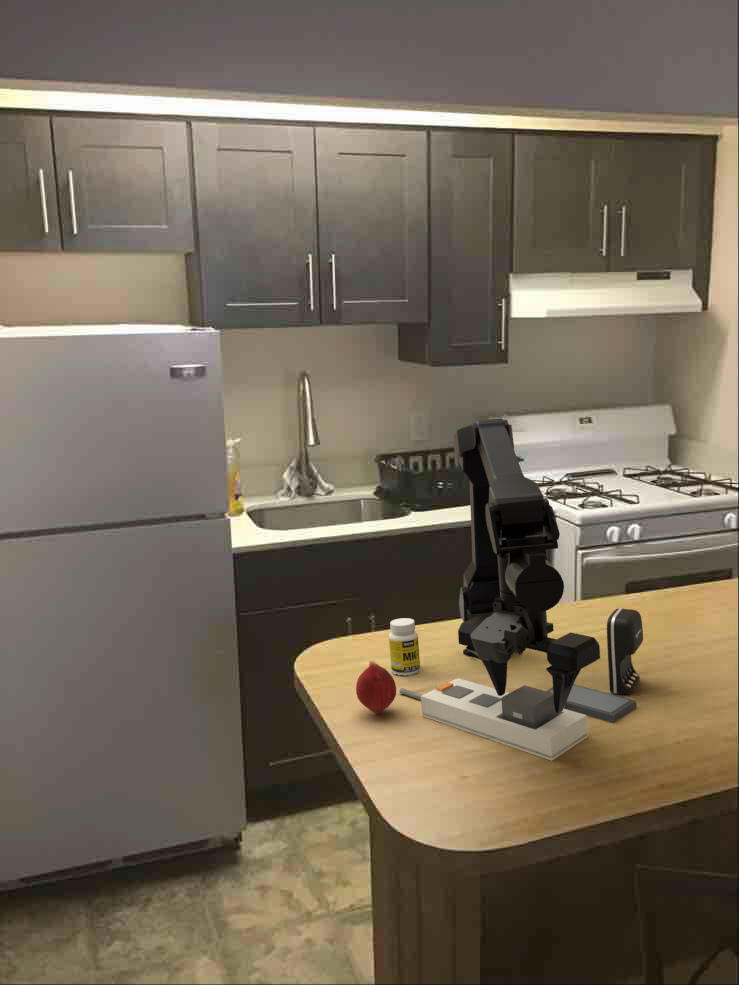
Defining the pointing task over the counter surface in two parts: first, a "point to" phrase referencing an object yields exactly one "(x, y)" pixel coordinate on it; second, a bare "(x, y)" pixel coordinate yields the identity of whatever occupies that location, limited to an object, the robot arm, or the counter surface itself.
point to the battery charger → (623, 649)
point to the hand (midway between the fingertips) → (529, 703)
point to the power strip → (499, 719)
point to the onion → (376, 688)
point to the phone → (598, 703)
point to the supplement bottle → (404, 647)
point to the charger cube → (529, 707)
